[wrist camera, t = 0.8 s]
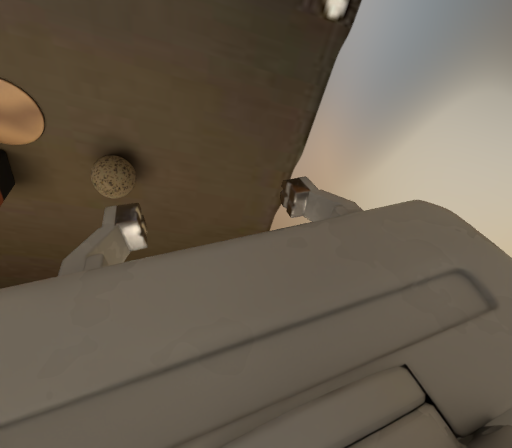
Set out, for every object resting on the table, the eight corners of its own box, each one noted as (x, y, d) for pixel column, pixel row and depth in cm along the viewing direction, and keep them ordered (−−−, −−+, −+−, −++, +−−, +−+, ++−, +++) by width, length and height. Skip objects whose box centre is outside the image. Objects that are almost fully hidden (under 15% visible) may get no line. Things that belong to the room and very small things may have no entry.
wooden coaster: (-72, 84, 32) (-74, 85, 32) (8, 66, 34) (7, 67, 33) (-4, 151, 40) (-5, 152, 39) (59, 134, 41) (59, 135, 41)
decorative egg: (84, 162, 45) (75, 192, 38) (113, 140, 44) (109, 166, 37) (117, 186, 50) (114, 216, 43) (144, 167, 49) (145, 194, 43)
